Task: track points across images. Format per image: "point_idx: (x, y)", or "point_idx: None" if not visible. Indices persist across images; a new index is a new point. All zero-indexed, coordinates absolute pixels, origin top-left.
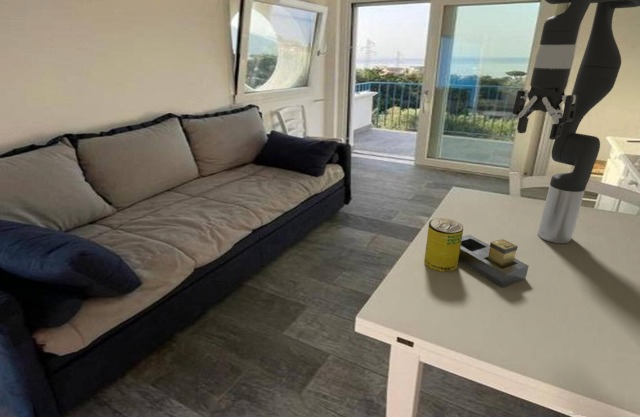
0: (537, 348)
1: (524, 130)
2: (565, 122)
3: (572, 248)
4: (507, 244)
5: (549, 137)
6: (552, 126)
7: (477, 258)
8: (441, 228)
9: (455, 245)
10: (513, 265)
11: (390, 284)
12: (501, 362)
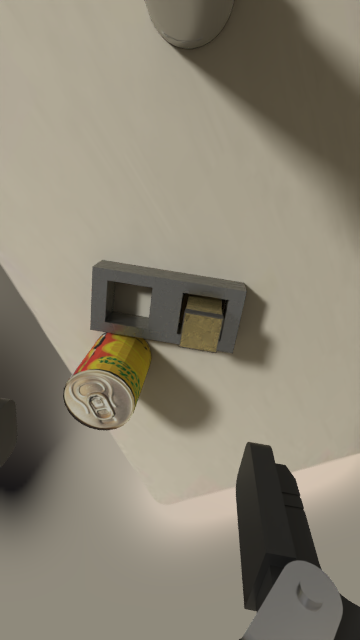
0: (327, 421)
1: (4, 420)
2: (352, 610)
3: (255, 27)
4: (205, 328)
5: (236, 494)
6: (246, 581)
7: (170, 342)
8: (105, 419)
9: (140, 390)
10: (227, 314)
11: (127, 448)
12: (306, 465)
